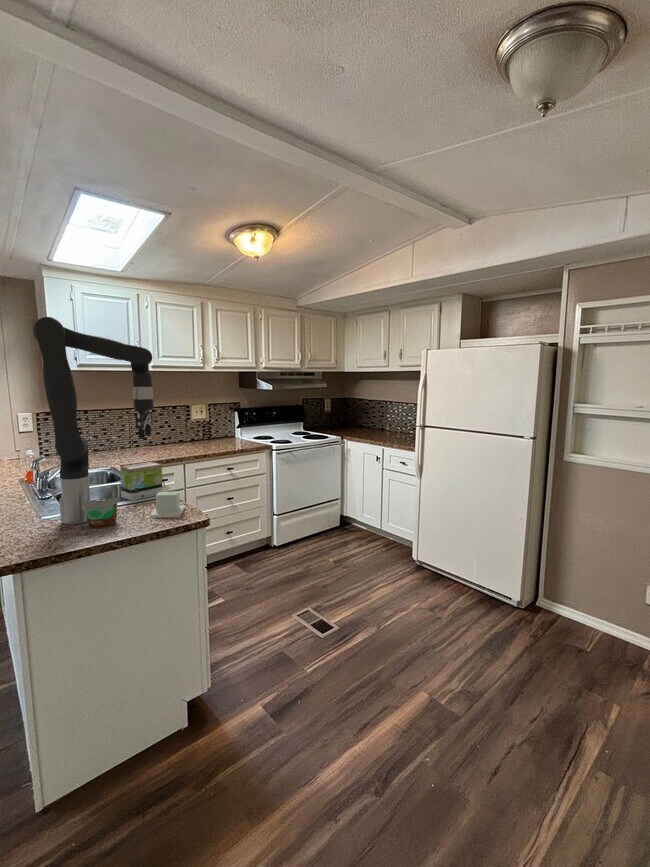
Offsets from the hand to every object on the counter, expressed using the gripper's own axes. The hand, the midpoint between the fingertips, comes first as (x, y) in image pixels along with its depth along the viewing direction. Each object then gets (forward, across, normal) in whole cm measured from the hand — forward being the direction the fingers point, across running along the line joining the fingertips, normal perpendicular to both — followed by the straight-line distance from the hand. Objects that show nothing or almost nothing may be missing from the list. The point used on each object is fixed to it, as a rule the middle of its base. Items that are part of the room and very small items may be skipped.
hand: (145, 437), depth 169 cm
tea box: (+30, -18, -8) cm, 36 cm away
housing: (+29, +8, +10) cm, 32 cm away
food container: (+30, +21, -11) cm, 38 cm away
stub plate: (+30, +8, +10) cm, 33 cm away
